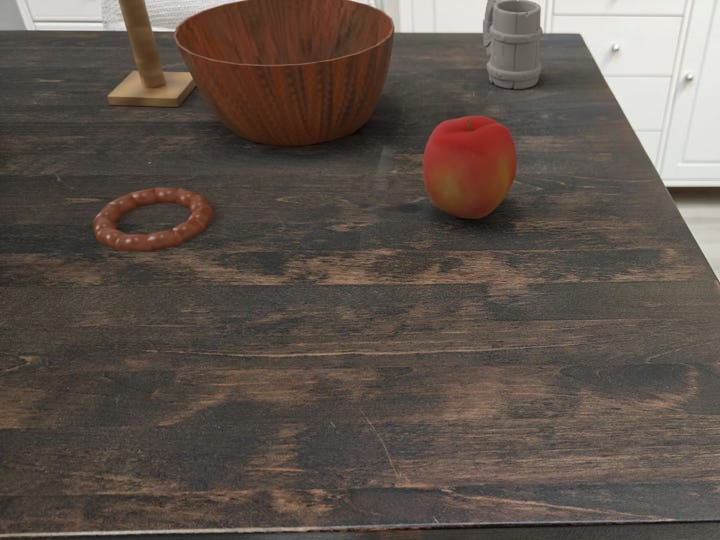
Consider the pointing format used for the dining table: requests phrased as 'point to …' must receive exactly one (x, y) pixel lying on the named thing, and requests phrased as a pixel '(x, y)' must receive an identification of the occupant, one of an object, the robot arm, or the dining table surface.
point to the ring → (154, 241)
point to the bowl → (289, 66)
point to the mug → (513, 42)
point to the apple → (469, 166)
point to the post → (148, 66)
